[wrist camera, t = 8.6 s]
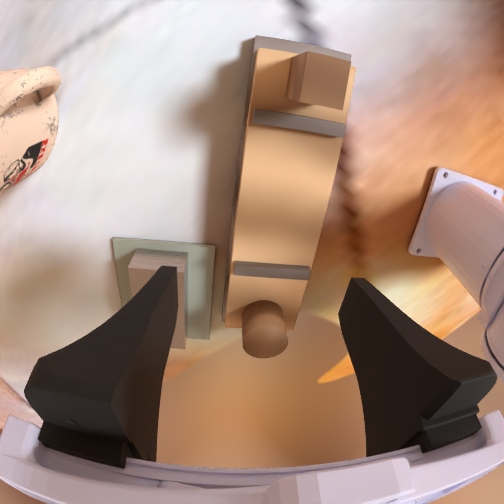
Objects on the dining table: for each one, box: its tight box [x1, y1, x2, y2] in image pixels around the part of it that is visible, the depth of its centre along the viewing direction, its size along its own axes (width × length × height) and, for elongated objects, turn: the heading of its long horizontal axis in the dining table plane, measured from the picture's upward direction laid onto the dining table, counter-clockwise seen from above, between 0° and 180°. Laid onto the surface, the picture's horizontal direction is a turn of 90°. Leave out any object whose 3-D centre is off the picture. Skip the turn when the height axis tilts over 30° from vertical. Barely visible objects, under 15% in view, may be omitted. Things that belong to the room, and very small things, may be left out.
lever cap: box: [128, 248, 188, 349], centre depth 23 cm, size 8×4×3 cm, turn 173°
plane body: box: [222, 35, 356, 358], centre depth 19 cm, size 22×6×6 cm, turn 173°
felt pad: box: [112, 237, 215, 340], centre depth 25 cm, size 8×10×1 cm
